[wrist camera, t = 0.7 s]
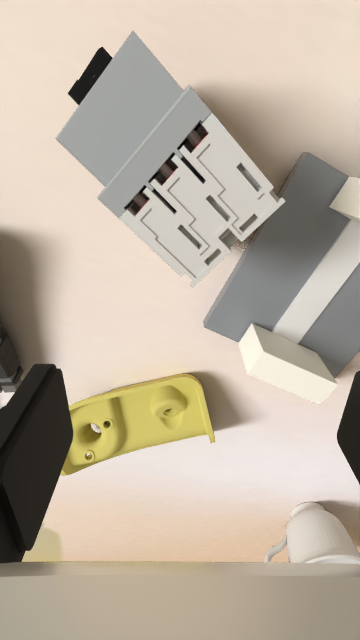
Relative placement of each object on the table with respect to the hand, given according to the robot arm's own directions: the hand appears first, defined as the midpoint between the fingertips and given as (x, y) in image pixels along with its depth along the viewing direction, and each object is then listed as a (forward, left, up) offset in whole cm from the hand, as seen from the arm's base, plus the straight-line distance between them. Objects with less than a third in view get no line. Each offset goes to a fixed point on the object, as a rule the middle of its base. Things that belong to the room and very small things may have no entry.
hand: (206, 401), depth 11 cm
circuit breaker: (-5, -5, -27) cm, 28 cm away
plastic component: (+25, +5, -27) cm, 37 cm away
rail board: (-1, +15, -27) cm, 31 cm away
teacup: (+34, +38, -27) cm, 58 cm away
